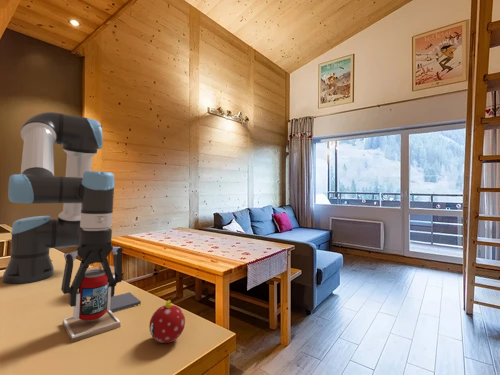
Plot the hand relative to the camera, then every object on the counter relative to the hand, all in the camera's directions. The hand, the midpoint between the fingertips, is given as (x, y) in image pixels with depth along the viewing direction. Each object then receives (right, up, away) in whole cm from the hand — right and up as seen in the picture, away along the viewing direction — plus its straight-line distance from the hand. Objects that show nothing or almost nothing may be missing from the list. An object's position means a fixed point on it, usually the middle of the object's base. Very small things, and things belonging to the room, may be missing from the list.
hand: (92, 312), depth 71 cm
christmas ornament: (+22, -5, -5) cm, 23 cm away
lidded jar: (-10, -3, +21) cm, 24 cm away
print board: (0, -3, 0) cm, 3 cm away
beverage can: (0, -1, 0) cm, 1 cm away
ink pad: (+1, -3, +13) cm, 14 cm away
